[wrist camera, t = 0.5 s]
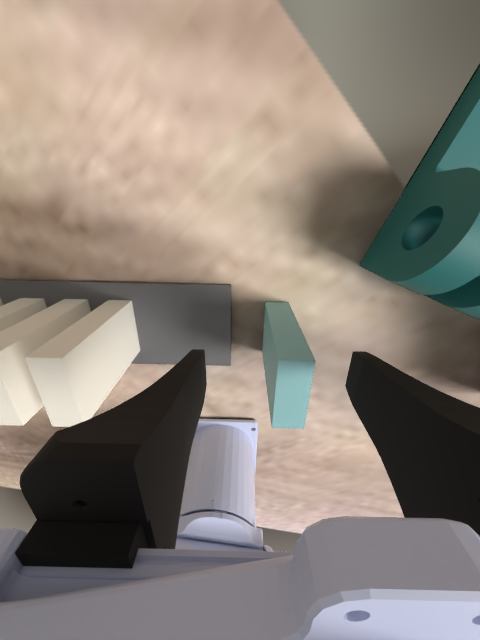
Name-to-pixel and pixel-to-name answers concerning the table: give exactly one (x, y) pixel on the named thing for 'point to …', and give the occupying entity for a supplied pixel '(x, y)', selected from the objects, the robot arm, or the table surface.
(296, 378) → the tile
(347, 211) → the table surface
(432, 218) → the bracket
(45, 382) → the tile
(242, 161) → the table surface
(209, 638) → the robot arm
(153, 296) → the mat
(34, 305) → the tile
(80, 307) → the tile
